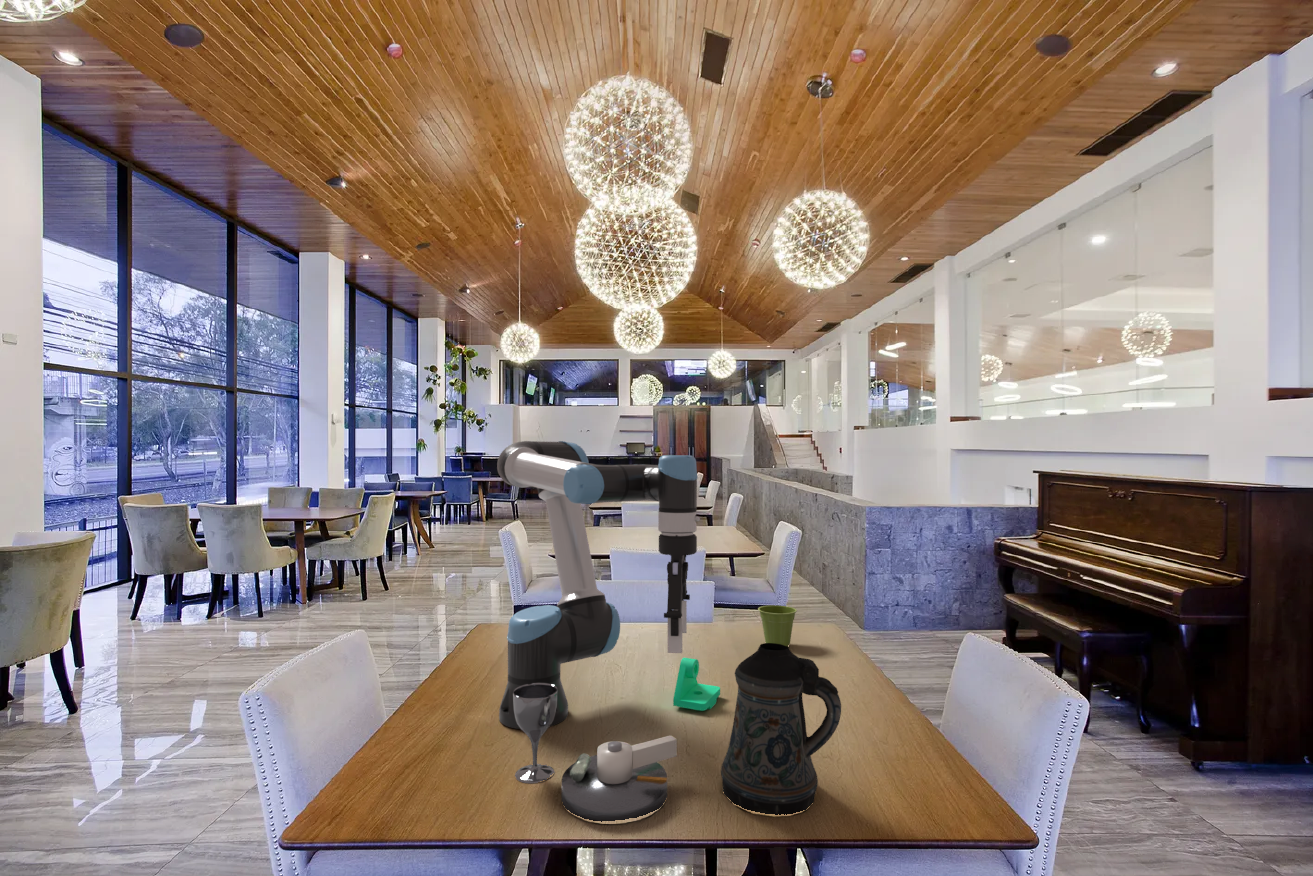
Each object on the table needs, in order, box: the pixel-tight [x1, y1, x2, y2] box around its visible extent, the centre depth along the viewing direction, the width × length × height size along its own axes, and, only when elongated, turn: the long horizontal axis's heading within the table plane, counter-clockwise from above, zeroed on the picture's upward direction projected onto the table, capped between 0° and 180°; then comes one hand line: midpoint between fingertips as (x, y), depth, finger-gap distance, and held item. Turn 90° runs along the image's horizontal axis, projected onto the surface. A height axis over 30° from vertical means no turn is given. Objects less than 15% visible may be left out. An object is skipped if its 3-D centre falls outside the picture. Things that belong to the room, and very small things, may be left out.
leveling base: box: [561, 753, 668, 822], centre depth 109 cm, size 18×18×5 cm
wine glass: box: [513, 683, 557, 785], centre depth 116 cm, size 8×8×15 cm
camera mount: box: [672, 657, 721, 712], centre depth 150 cm, size 12×8×10 cm, turn 156°
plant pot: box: [757, 604, 798, 646], centre depth 196 cm, size 12×12×11 cm
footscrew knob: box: [596, 735, 678, 784], centre depth 111 cm, size 15×6×5 cm, turn 121°
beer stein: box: [720, 642, 842, 815], centre depth 110 cm, size 16×19×25 cm
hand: (677, 642), depth 125 cm, fingers open, 13 cm apart
